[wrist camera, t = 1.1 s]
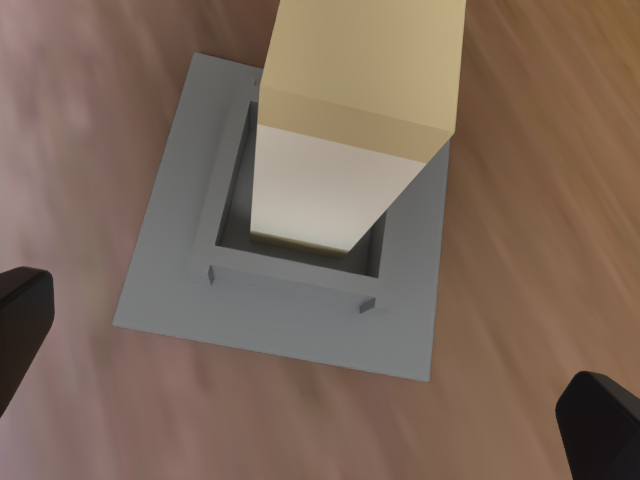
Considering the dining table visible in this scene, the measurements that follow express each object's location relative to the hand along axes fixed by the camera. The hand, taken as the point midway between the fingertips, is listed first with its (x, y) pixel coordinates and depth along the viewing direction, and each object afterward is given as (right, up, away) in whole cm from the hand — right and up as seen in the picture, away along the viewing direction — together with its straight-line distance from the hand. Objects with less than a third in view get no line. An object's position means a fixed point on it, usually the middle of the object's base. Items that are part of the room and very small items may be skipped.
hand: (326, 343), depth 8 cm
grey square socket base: (-1, +3, +15) cm, 15 cm away
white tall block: (-1, +3, +14) cm, 15 cm away
